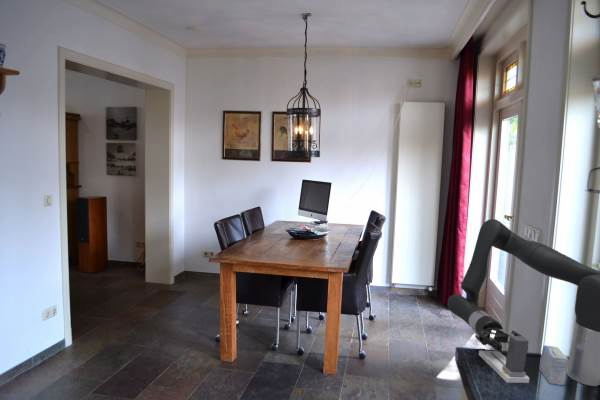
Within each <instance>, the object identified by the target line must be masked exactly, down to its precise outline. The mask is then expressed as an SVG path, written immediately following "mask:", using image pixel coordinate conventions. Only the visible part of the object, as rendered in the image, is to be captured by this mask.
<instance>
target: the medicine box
mask: <svg viewBox="0 0 600 400" xmlns="http://www.w3.org/2000/svg"><path fill="white" fill-rule="evenodd" d="M542 346H543V347H542V350H541V356H540V362H539V371H540V373H541V374H542V376H543V377H544V378H545V379H546V381H547V383H548V384H553V385H559V386H564V385H565V383H566V381H565V380H566V375H567V373H566V372H567V366H568V360H569V358H568V357H567V356H566V355H565V353H563V352H562V350H561V348H559V347H557V346H553V345H552V346H551V345H542Z"/></svg>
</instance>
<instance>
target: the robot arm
mask: <svg viewBox="0 0 600 400" xmlns="http://www.w3.org/2000/svg"><path fill="white" fill-rule="evenodd" d="M480 226H481V227H480V228H479V232H478V235H477V239H476V243H475V246H474V250H473V253H472V257H471V260H470V263H469V264H468V265H469V266H468V268H467V270H466V272H465V275H464V276H463V279H462V282H461V284H460V288H461V289H462V291H464V292H465V293H466V297H464V296H463V295H460V294H458V293H457V294H452V295H450V296H449V298H448V299H447V308H448V309H449V311H450V312H451V313H453V314H454V315H456V316H457V317H458V318H460V319H462V320H463V321H464V322H465V323H466V324H467V325H468V326H469V327H470V328H471V329H472V330H473V331H474V332H475V335H474V337H475V338H476V340H477V341H478V342H479V343H480V344H481V345H482V346H487V345H488V346H489V347H491V348H493V349H494V351H498V352H500V353H502V350H503V345H502V344H506V345H508V346H509V338H510V336H522V335H521V334H519V332H517V331H515V330H511V332H508V331H506V330H505V329H504V328H503V326H502V324H501V323H500V322H499V321H498V320H496V319H495V318H494V317H492V316H491V315H490V314H488V313H487V312H486V311H483V310H482V309H481V308H479V307H478V303H479V298H480V291H481V290H482V287H483V285H484V283H485V280H486V278H487V273H488V264H489V263H488V261H489V255H490V253H491V252H490V251H491V249H492V247H493V248H495V249H498V250H501V251H503V252H506V253H508V254H510V255H512V256H514V257H515V258H517V259H518V260H520V261H521V262H522V263H523V264H525V265H527V267H530V268H531V269H533V270H535V271H537V272H539V273H540V274H542V275H545V276H547V277H549V278H552V279H556V280H560V281H563V282H566V283H570V284H572V285H575V286H576V287H577V289H576V295H575V303H574V314H575V322H574V327H573V334H572V339H571V344H570V346H571V347H570V351H569V356H568V364H567V370H566V375H567V376H568V377H569V378H570V379H571V380H574V381H576V382H578V383H580V384H583V385H585V386H589V387H590V386H591V387H599V386H598V385H600V270H597V269H595V268H592V267H591V266H590V267H589V266H588V265H585V264H583V263H582V262H579V261H577V260H575V259H573V258H572V257H570V256H568V255H566V254H564V253H562V252H560V251H558V250H556V249H554V248H552V247H550V246H548V245H546V244H543V243H541V242H538V241H535V240H529V239H528V240H527V239H525V238H523V237H522V236H520V235H518V234H516V233H515V232H513V231H512V230H511V229H509V227H508V226H506V225H505V224H504V223H502V222H501V221H500V220H498V219H496V218H491V219H487V220H486V221H485V222H483V223H482V225H480ZM524 338H525V339H527V338H526V337H524ZM528 351H529V347H528V348H527V352H528Z"/></svg>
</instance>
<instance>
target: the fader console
mask: <svg viewBox="0 0 600 400" xmlns="http://www.w3.org/2000/svg"><path fill="white" fill-rule="evenodd" d="M478 356H479V357H480V358H482V360H483V361H484V362H485V363H486V364H487V365H488V366H490V368H492V370H494V372H495V373H497V375H499V377H501V378H502V380H504V381H505V383H508V384H510V383H511V384H512V383H515V384H519V383H520V384H530V377H529V376H528V375H526V376H509V375H508V374H507V373H506V372H505V371H504V370H503V369H502V367H503V366H505V365H506V358H507V356H505V355H504V354H503V353H502V352H498V351H497V350H479V351H478Z"/></svg>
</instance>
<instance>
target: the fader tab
mask: <svg viewBox="0 0 600 400" xmlns="http://www.w3.org/2000/svg"><path fill="white" fill-rule="evenodd" d="M525 338H526V337H524V336H523V335H521V336H510V337H509V339H508V342H509V345H508V347H507V352H506V365H505V366H503V367H502V369H503V370H504V371H505V372H506V373H507V374H508V375H509V376H527V372H525V366H526V359H527V353H528V351H527V348H528V349H529V343H530V342H529V340H528V339H527V338H526V339H525Z"/></svg>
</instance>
